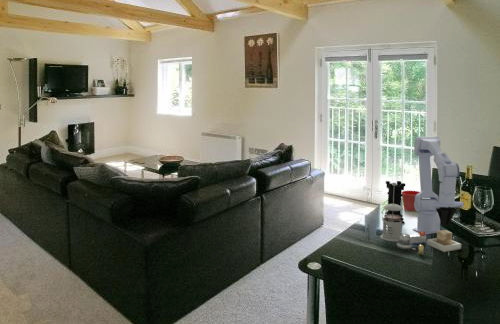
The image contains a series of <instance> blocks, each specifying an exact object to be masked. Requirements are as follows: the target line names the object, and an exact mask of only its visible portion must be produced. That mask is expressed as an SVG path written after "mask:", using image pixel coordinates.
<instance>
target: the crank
mask: <svg viewBox="0 0 500 324" xmlns="http://www.w3.org/2000/svg"><path fill="white" fill-rule="evenodd" d="M399 243H401V244H410V243H412V244H419V243H427V234H425V232H424V231H420V232H418V234H407V233H401V234H400V238H399Z"/></svg>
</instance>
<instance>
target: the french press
mask: <svg viewBox="0 0 500 324" xmlns="http://www.w3.org/2000/svg"><path fill="white" fill-rule="evenodd" d="M391 183H392V185H394V186H396V184H397V182H391ZM403 209H404V207H402V205H401V206H399V205H397V204H394V193H393V204H388V203H387V204H385V205H384V206H383V210H382V211H381V214H383V213H384V215H383V216H381V219H382V220H381V221H382V234H380V236H379V237H380V239H382V240H384V241H388V242H398V241H399V238H400V234H402V226H403V224H402V220H401V216H399V215H393V214H387V215H386V212H388V210H390V211H401V212H402V210H403ZM384 210H385V212H384ZM383 218H384V219H383ZM387 219H388V222H387V221H386V220H387ZM394 221H400V222H394Z"/></svg>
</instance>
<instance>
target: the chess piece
mask: <svg viewBox="0 0 500 324" xmlns="http://www.w3.org/2000/svg"><path fill="white" fill-rule="evenodd" d="M392 183H393V182H391V181H390V180H385V184H386V189H388V192H387V193H386V194H387V197H388V198H387V205H388V204H393V193H394V204H397V205H399V206H401V207H402V196H403V195H402V192H403V191H405V187H406V183H405V182H403V183H402V181H401V180H396V186H394V185H392ZM387 211H388V212H386V211H385V212H386V215H387V214H393V215H399V216H401V220H402V225H404V224H405V221H404V219H405V218H404V217H403V216H404V215H403V214H402V213H401V212H402V210H401V211H390V210H387ZM384 218H385V217H383V219H384ZM386 221H387V222H388V219H387V220H386ZM394 222H400V221H394Z"/></svg>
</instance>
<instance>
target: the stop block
mask: <svg viewBox="0 0 500 324" xmlns="http://www.w3.org/2000/svg"><path fill="white" fill-rule="evenodd" d="M436 238H437V243H439V244H441V245H444V246H445V245H451V244H452V240H453V232H451V231H449V230H447V229H440V230H438V231H437V233H436Z"/></svg>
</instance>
